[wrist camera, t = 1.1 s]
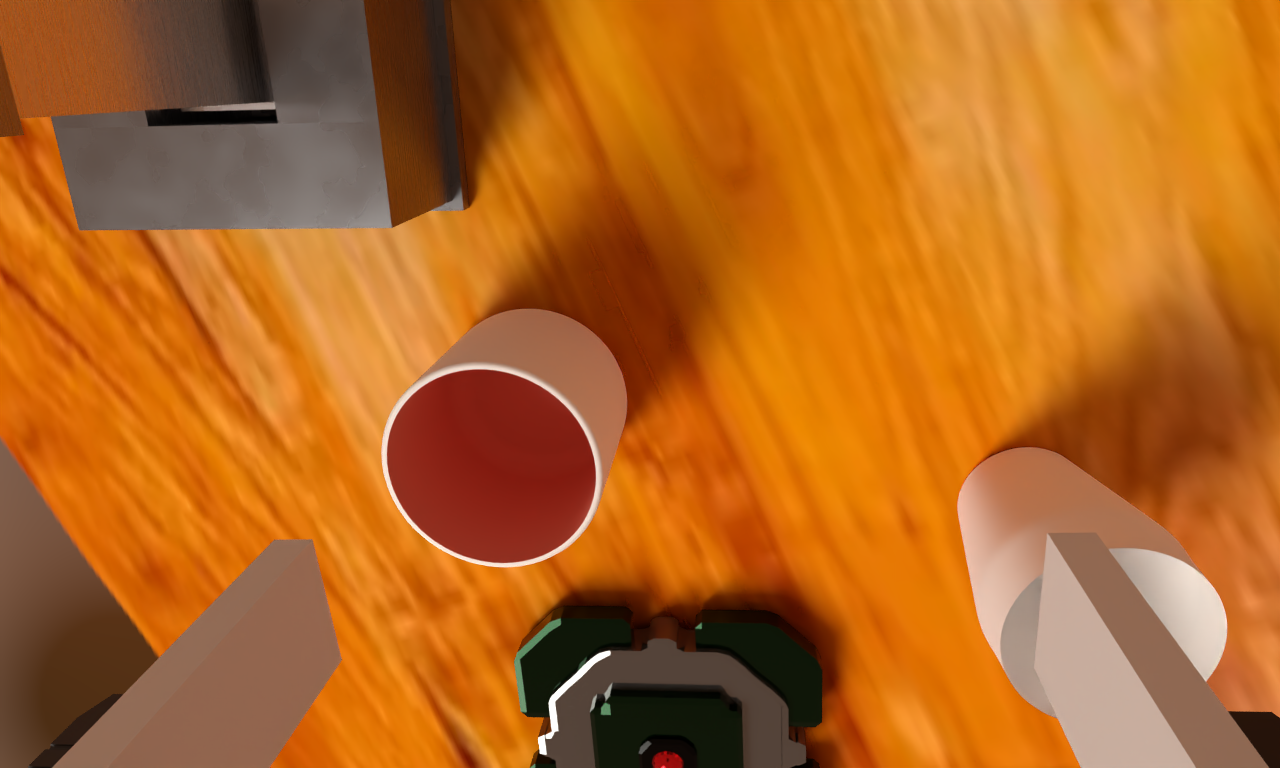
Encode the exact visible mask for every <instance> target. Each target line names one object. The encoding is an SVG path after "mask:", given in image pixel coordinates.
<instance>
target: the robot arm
mask: <svg viewBox="0 0 1280 768" xmlns="http://www.w3.org/2000/svg"><path fill="white" fill-rule="evenodd" d="M341 660H342V659H341V655H340V651H339V647H338V643H337V638H336V634H335V630H334V626H333V622H332V618H331V614H330V610H329V606H328V602H327V598H326V593H325V589H324V585H323V581H322V577H321V573H320V569H319V565H318V561H317V557H316V553H315V548H314V544H313V540H274V541H273V542H272V543H271V544H270V545H269V546H268V547H267V548H266V549H265V550H264V551H263V552H262V553H261V554H260V555H259V556H258V557H257V558H256V559H255V560H254V561H253V562H252V563H251V564H250V565H249V566H248V568H247V569H246V570H245V571H244V572H243V573H242V574H241V575H240V576H239V577H238V578H237V579H236V580H235V581H234V582H233V583H232V584H231V585H230V586H229V587H228V588H227V589H226V590H225V591H224V592H223V593H222V594H221V595H220V596H219V597H218V598H217V599H216V600H215V601H214V602H213V603H212V604H211V605H210V606H209V607H208V608H207V609H206V611H205V612H204V613H203V614H202V615H201V616H200V617H199V618H198V619H197V620H196V621H195V622H194V623H193V624H192V625H191V626H190V627H189V628H188V629H187V630H186V631H185V632H184V633H183V634H182V635H181V636H180V637H179V638H178V639H177V640H176V641H175V642H174V643H173V644H172V645H171V646H170V647H169V648H168V649H167V650H166V651H165V652H164V654H163V655H162V656H161V657H160V658H159V659H158V660H157V661H156V662H155V663H154V664H153V665H152V666H151V667H150V668H149V669H148V670H147V671H146V672H145V673H144V674H143V675H142V676H141V677H140V678H139V679H138V680H137V681H136V682H135V683H134V684H133V685H132V686H131V687H130V688H129V689H128V690H127V691H126V692H125V693H124V694H113V695H111V696H110V697H108V698H107V699H105V700H104V701H102V702H100V703H99V704H98V705H96V706H94V707H93V708H91V709H90V710H88V711H87V712H85V713H84V714H82V715H81V716H79V717H78V718H77V719H76V720H75V721H74V722H73V723H72V724H71V725H70V726H69V727H68V728H67V729H65V731H63V733H62V734H60V735H59V737H57V739H55V740H54V741H53V742H52V743H51V748H50V749H49V750H48V749H46V750H44V751H43V752H42V753H41V754H40V755H39V756H38V757H37V758H36V759H35V760H34V761H33V762H32V763H31V764H30V765H29V768H269V767H270V766H271V764H272V763H273V762H274V760H275V759H276V757H277V756H278V754H279V753H280V751H281V750H282V748H283V747H284V745H285V744H286V742H287V741H288V739H289V738H290V736H291V735H292V733H293V732H294V730H295V729H296V727H297V726H298V724H299V723H300V721H301V720H302V718H303V717H304V715H305V714H306V712H307V711H308V709H309V708H310V706H311V705H312V703H313V702H314V700H315V699H316V697H317V696H318V694H319V693H320V691H321V690H322V688H323V687H324V685H325V684H326V682H327V681H328V680H329V678H330V677H331V675H332V674H333V672H334V671H335V669H336V668H337V666H338V665H339V663H340V662H341ZM1034 669H1035V671H1036V673H1037V675H1038V677H1039V680H1040V682H1041V684H1042V686H1043V688H1044V690H1045V692H1046V694H1047V696H1048V699H1049V701H1050V703H1051V705H1052V707H1053V709H1054V711H1055V713H1056V716H1057V718H1058V720H1059V722H1060V724H1061V726H1062V728H1063V730H1064V733H1065V735H1066V737H1067V739H1068V741H1069V743H1070V745H1071V747H1072V749H1073V752H1074V754H1075V756H1076V758H1077V760H1078V762H1079V764H1080V766H1081V768H1280V718H1279V717H1278V716H1276V715H1275V714H1273V713H1272V712H1235V711H1227V710H1226V708H1225V707H1224V706H1223V704H1222V703H1221V702H1220V700H1219V699H1218V698H1217V696H1216V695H1215V693H1214V692H1213V691H1212V689H1211V688H1210V687H1209V685H1208V684H1207V683H1206V681H1205V680H1204V679H1203V677H1202V676H1201V674H1200V673H1199V672H1198V670H1197V669H1196V668H1195V666H1194V665H1193V664H1192V662H1191V661H1190V660H1189V658H1188V657H1187V655H1186V654H1185V653H1184V651H1183V650H1182V649H1181V647H1180V646H1179V645H1178V643H1177V642H1176V641H1175V639H1174V638H1173V636H1172V635H1171V634H1170V632H1169V631H1168V630H1167V628H1166V627H1165V626H1164V624H1163V623H1162V622H1161V620H1160V619H1159V617H1158V616H1157V615H1156V613H1155V612H1154V611H1153V609H1152V608H1151V607H1150V605H1149V604H1148V603H1147V601H1146V600H1145V598H1144V597H1143V596H1142V594H1141V593H1140V592H1139V590H1138V589H1137V588H1136V586H1135V585H1134V584H1133V582H1132V581H1131V579H1130V578H1129V577H1128V575H1127V574H1126V573H1125V571H1124V570H1123V569H1122V567H1121V566H1120V565H1119V563H1118V562H1117V560H1116V559H1115V558H1114V556H1113V555H1112V554H1111V552H1110V551H1109V550H1108V548H1107V547H1106V546H1105V544H1104V543H1103V541H1102V540H1101V539H1100V537H1099V536H1098V535H1097V533H1096V532H1093V533H1047V541H1046V551H1045V561H1044V571H1043V581H1042V591H1041V601H1040V611H1039V621H1038V631H1037V641H1036V651H1035V661H1034Z"/></svg>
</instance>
